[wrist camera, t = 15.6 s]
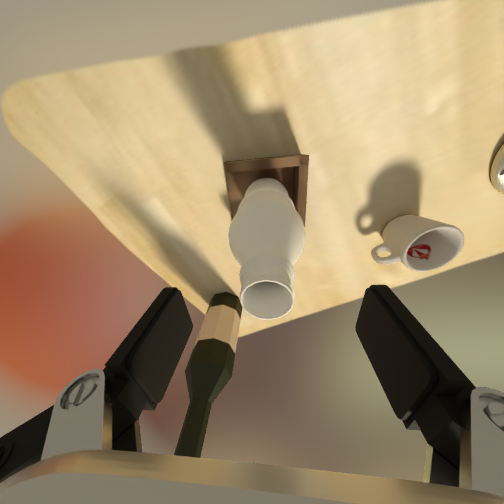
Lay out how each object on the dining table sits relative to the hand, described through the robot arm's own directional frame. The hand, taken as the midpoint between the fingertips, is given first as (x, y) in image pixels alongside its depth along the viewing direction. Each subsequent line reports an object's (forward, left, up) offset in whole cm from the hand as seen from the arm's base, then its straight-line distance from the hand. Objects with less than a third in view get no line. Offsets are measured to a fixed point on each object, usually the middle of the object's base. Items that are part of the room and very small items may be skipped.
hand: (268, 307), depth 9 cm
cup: (-18, +17, -27) cm, 36 cm away
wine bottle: (+21, +19, -27) cm, 39 cm away
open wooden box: (0, 0, -26) cm, 26 cm away
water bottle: (0, 0, -26) cm, 26 cm away
